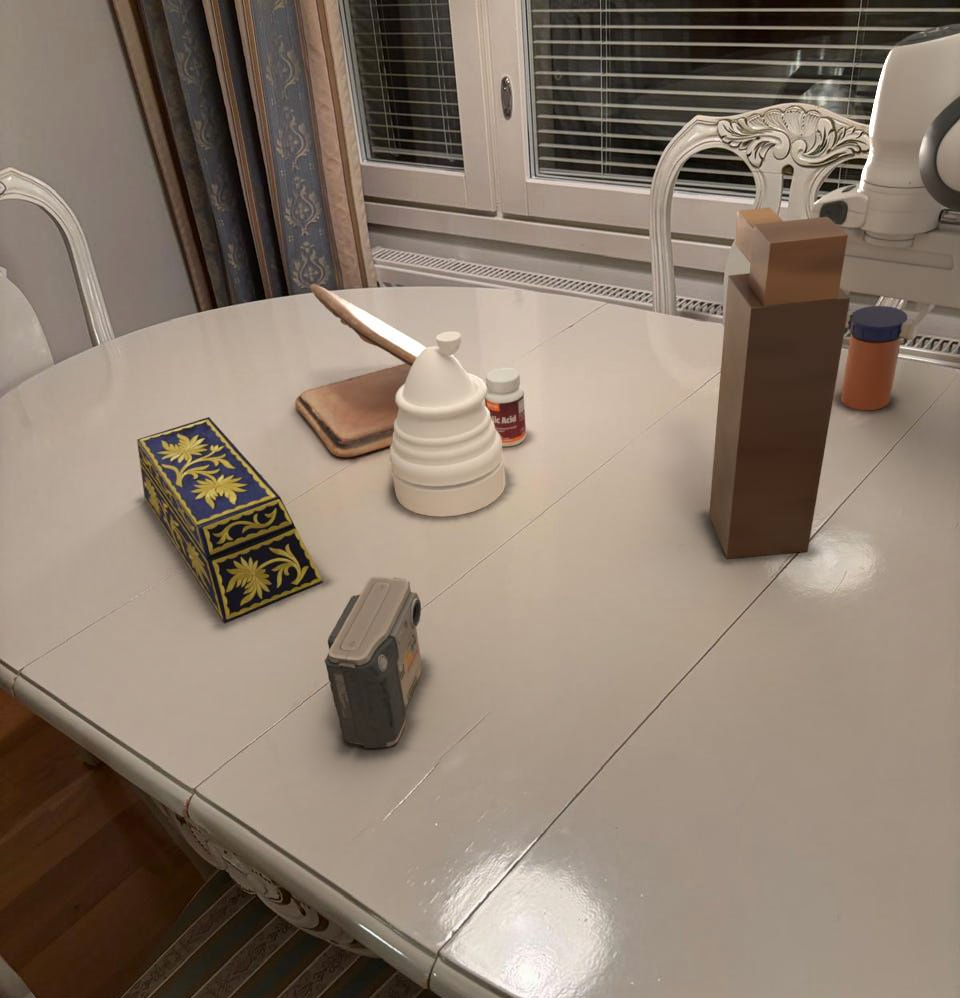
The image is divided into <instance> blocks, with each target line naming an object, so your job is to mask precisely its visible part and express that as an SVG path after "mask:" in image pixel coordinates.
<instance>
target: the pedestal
mask: <svg viewBox="0 0 960 998" xmlns="http://www.w3.org/2000/svg"><path fill="white" fill-rule="evenodd" d="M749 274H750V272H748V273H739V274H730V275H728V277H727V289H726V300H725V301H726V302H725V313H724V314H725V315H724V325H723V326H724V327H723V337H722V339H723V340H722V350H721V351H722V352H721V363H720V364H721V365H720V375H719V386H718V387H719V390H718V399H717V413H716V426H715V437H714V448H713V449H714V451H713V461H712V462H713V463H712V464H713V465H712V475H711V488H710V499H709V510H708V511H709V513H708V517H709V519H710V521H711V524H712V526H713V529H714V531H715V534H716V536H717V538H718V541H719V543H720V546H721V548H722V550H723V553H724V555H725V558H726V559H727V560H728V559H739V558H740V559H741V558H749V557H750V558H751V557H761V556H772V555H773V556H774V555H783V554H793V553H794V554H795V553H804V552H808V551H809V547H810V540H811V534H812V528H813V523H814V516H815V511H816V506H817V505H816V504H817V498H818V493H819V487H820V481H821V476H822V468H823V462H824V457H825V450H826V445H827V438H828V432H829V428H830V421H831V414H832V408H833V403H834V396H835V391H836V386H837V385H836V384H837V380H838V379H837V378H838V373H839V367H840V360H841V355H842V350H843V343H844V337H845V331H846V328H845V325H846V319H847V313H848V307H849V306H850V302H851V301H850V300H851V298H850V296H849V295H847V294H846V293H845V292H844V291H843V290H842V289H841V288H839V294H838V299H831V300H821V301H811V302H801V303H791V304H782V305H772V306H763V304H762V303H761V302H760V300H759V299H758V298H757V296H756V295H755V294H754V292H753V291H752V289H751V288H750V287H749Z"/></svg>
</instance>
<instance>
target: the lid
mask: <svg viewBox="0 0 960 998" xmlns="http://www.w3.org/2000/svg"><path fill="white" fill-rule="evenodd" d="M855 310H856V311H855V312H854V313H853V314H852V316H851V320H850V324H849V328H848V330H849V333H850V335H851V334H852V335H853V336H855V337H857V338H859V339H863V340H867V341H889V340H893V339H896V338H898V337H899V335H900V333H901V325H902V323H904V322H906V320H907V319H908V314H907V312H905V311H904V310H902V309H899V308H897V307H893V306H887V305H871V306H865V307H861V308H858V309H855Z"/></svg>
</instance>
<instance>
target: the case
mask: <svg viewBox="0 0 960 998" xmlns="http://www.w3.org/2000/svg"><path fill="white" fill-rule="evenodd" d="M309 289H310V291H311V292H312V294H313V296H314V297H315V298H316V300H318V302H319V303H321V304H322V305H323V307H325V309H327V310H328V311H329V312H330V313H332V315H333V316H334V317H336V318H338V319H339V320H340V324H342V325H344V326H347V327H348V328H349V329H351V330H353V332H355V333H356V334H357V336H358V337H359V338H360V339H361V340H362V341H363V342H364V343H367V344H370V345H372V346H375V347H378V348H379V349H381V350H383V351H385V352H387V353H388V354H389V355H392V356H393V357H394V358H395V359H397V360H400V361H401V362H402V363H401V364H397V365H395V366H392V367H388V368H383V369H380V370H375V371H371V372H369V373H365V374H361V375H357V376H353V377H350V378H346V379H343V380H339V381H335V382H331V383H328V384H325V385H320V386H317V387H313V388H310V389H306V390H304V391H303V392H301V394H300V395H298V396H297V397H296V399H295V402H294V403H295V407H296V409H297V410H298V411H299V412H300V414H301V415H302V416H303V417H304V419H305V420H306V421H307V422H308V424H309V425H310V426H311V427H312V429H313V430H314V432H315V433H316V434H317V435H318V437H319V438H320V439H321V441H322V442H323V444H324V445H325V447H326V448H327V450H328V451H329V452H330V453H331V454H332V455H334V456H335V457H339V458H351V457H357V456H360V455H364V454H367V453H370V452H371V453H372V452H373V451H377V450H381V449H384V448H387V447H390V446H391V444H392V443H393V432H394V421H395V419H396V418H397V415H398V410H399V407H398V406H397V404H396V402H395V398H396V393H397V391H398V390H399V388H400V387H401V386H403V385H404V384H405V382H406V379H407V376H408V374H409V371H410V369H411V367H412V365H413V363H414V361H415V360H416V358H417V357H418V355H419V354H420V353H421V352H422V351H423V350H425V349H426V348H427V347H426V346H425V345H423V344H422V343H420V342H419V341H417V340H415V339H413V338H412V337H410V336H408V335H406V334H404V333H403V332H401V331H400V330H398V329H396V328H394V327H393V326H391V325H390V324H387V323H385V322H384V321H382V320H381V319H379V318H377V317H375V316H373V315H372V314H370V313H369V312H367V311H365V310H363V309H361V308H360V307H358V306H356V305H354V304H353V303H351V302H350V301H348V300H347V299H344V298H342V297H341V296H339V295H337V294H336V293H333V292H331V290H328V289H326V288H324V287H323V286H321V285H319V284H316V283H312V284H310V286H309Z"/></svg>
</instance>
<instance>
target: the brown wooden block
mask: <svg viewBox="0 0 960 998" xmlns="http://www.w3.org/2000/svg"><path fill="white" fill-rule="evenodd" d="M847 237H848V235H847V234H846V233H845V232H844V231H843V230H842V229H841V228H840V227H838V226H837V225H836V224H835V223H834V222H833V221H832V220H831V219H829V218H828V217H820V218H811V217H810V218H801V219H794V220H792V219H791V220H783V219H782V218H781V217H780V216H779V215H778V214H777V213H776V212H775V211H774V210H773V209H772V208H771V207H761V208H752V209H751V208H750V209H743V210H742V209H741V210H737V215H736V226H735V239H734V244H735V246H736V247H737V249H738V250H739V251H740V252H741V254H742V255H743V256H744V257H745V259H746V261H747V262H748V263H749V273H750V274H749V287H750V288H751V289H752V291H753V292H754V294H755V295H756V296H757V298H758V299H759V300H760V302H761V303H762V304H763V306H772V305H782V304H791V303H801V302H811V301H821V300H831V299H838V294H839V288H840V282H841V275H842V269H843V263H844V256H845V250H846V244H847Z"/></svg>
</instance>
